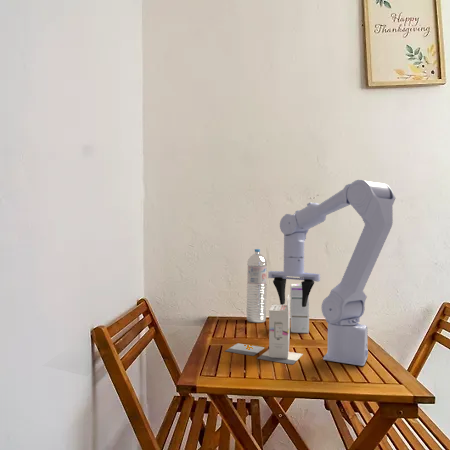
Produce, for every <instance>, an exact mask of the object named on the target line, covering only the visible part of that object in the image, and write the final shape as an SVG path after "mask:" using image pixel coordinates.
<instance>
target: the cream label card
mask: <svg viewBox="0 0 450 450" xmlns="http://www.w3.org/2000/svg"><path fill="white" fill-rule="evenodd" d="M303 355H304V353H299V352H293V351H289V355H288V359H285V358H272V357H269V349H267V350H266V351H265V352H263V353H262V354H260V355H259V356H257V358H256V359H257V360H263V361H268V362H275V363H280V364H286V365H292V366H293V365H294V364H296V362H297V361H298V360H299V359H300V358H301V357H303Z"/></svg>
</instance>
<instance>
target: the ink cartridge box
mask: <svg viewBox="0 0 450 450" xmlns="http://www.w3.org/2000/svg"><path fill="white" fill-rule="evenodd" d="M268 315H269V317H268V322H269V323H268V330H269V331H268V333H269V334H268V338H269V339H268V350H269V357H272V358H285V359H288V355H289V352H290V333H291V320H290V293H288V294H287V297H286V304H283V305H280V304H277V303H274V304H271V306H270V307H269V309H268Z"/></svg>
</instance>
